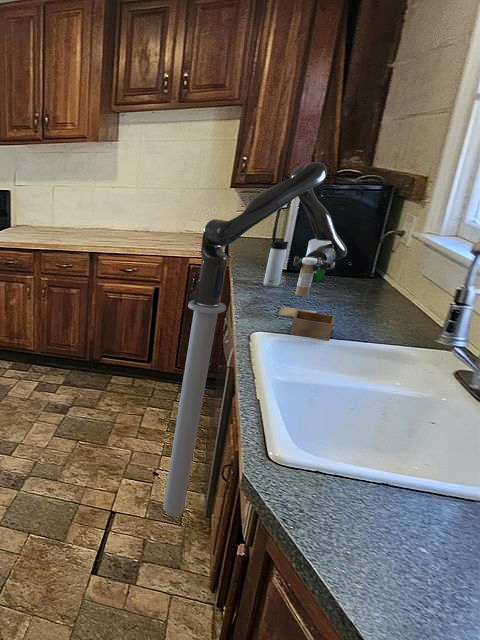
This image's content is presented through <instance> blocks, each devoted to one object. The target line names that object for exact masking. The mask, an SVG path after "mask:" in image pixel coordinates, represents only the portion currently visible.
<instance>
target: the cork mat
mask: <svg viewBox="0 0 480 640" xmlns="http://www.w3.org/2000/svg"><path fill="white" fill-rule="evenodd" d="M297 310H299V311H306V312H313V313H318V311H317V310H308V309H302V308H296V307H289V306H280V308H279V310H278V312H277V314H276V316H279V317H286V318H292V319H294V317H295V314H296V312H297Z"/></svg>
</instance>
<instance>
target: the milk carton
mask: <svg viewBox="0 0 480 640" xmlns="http://www.w3.org/2000/svg"><path fill="white" fill-rule="evenodd" d="M330 243H332V242H331V241H329V240H316V238H312V239H310V240H309V241H308V246H307V250H306V253H305V257H306V256H307V255H308V254H309V253H311V252H312V251H314V250H316V249H317V248H318V247H320V246H323V245H327V244H330ZM326 271H327V270H323V269H322V270H319V271H314V274H313V279H312V282H316V283H318V282H321V281H322V280H323V279H324V276H325V274H326Z"/></svg>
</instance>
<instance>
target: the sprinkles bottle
mask: <svg viewBox="0 0 480 640" xmlns="http://www.w3.org/2000/svg"><path fill="white" fill-rule="evenodd" d="M305 257H306V256H305ZM302 258H303V260H302V267H301V268H300V271H299V276H298V280H297V282H296V283H297V284H296V289H295V293H294V294H295V295H296V296H299V297H308V296H309V295H310V290H311V289H310V288H311V287H312V282H313V281H312V279H313V274H314V270H313V267H314V264H316V263H317V259H315V258H309V257H306V258H304V257H302Z"/></svg>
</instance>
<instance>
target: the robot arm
mask: <svg viewBox="0 0 480 640" xmlns="http://www.w3.org/2000/svg"><path fill="white" fill-rule="evenodd" d="M327 174H328V170H327V167H326V165H325V164H324V163H322V162H319V161H311V162H308V163H306V164H302V165H300V166H298V167H295V168H294V169H293V170H292V172H291V174H290V178H289V179H287V180H284V181H282V182H279V183H277V184H275V185H272V186H271V187H269V188H266V189H264V190H263V191H261V192H260V193H259V194H257V195H255V196H254V197H253V198H251V199H250V200H249V202H248V203H247V204H246V206H245V208H244V211H243V212H241V213H240V214H238V215H237V216H235V217H234V218H233V219H230V220H224V219H218V218H217V219H216V218H214V219H211V220H209V221H208V222H207V223H206V224H205V226H204V228H203V232H202V236H201V237H202V239H201V247H200V255H201V264H200V269H199V277H198V280H197V281H196V285H195V290H194V291H193V292H192V293H191V294H190V295H189V299H190V301H193V300H194V304H195V305H198V306H202V307H208V308H215V307H219V306H220V303H221V299H222V298H221V297H222V296H223V288H224V282H225V276H226V275H225V274H226V271H227V264H228V255H227V253H225V251H224V250H223V247H225V246H226V247H227V246H229V245H232V243H234V242H235V241H236V240H238V239H239V238H240V237H241V236H242V235H244V234H245V233H246V232H247V231H249V230H251V228H253V227H256V226H257V225H258V224H259V223H261V222H262V221H264V220H265V219H268V217H270V216H272V215H273V214H275V213H276V212H278V211H279V210H281V209H283V207H285V206H286V205H287V204H289V203H291V202H292V201H293V200H295V199H296V198H298V199H299V202H300V203H301V206H302V208H303V209H304V211H305V213H306V215H307V218H308V220H309V223H310V226H311V229H312V232H313V235H314V236H313V237H314V239H316V240H329V241H331V242H332V243H330V244H327V245H323V246H320V247H318V248H317V249H316V250H314V251H312V252H311V253H309V254H308V255H307V256H306V255H305V256H304V257H302V258H301V257H300V256H298V255H295V256H294V258H293V266H294V267H296V269H301V267H302V260H303V258H306V257H309V258H315V259H317V263H316V264H314V267H313V270H314V271H319V270H322V269H323V270H326V271H328V270H334V269H335V265H336V261H338V260H342V259H344V258H346V256H347V254H348V249H347V246H346V244H345V242H343V240H342V239H341V238H340V236H339V235H338V233H337V231H336V228H335V225H334V223H333V219H332V217H331V214H330V213H329V211H328V210H327V208H325V206H324V205H323V204H322V203H321V202H320V201H319V199H318V198H317V196H316V194H315V191H314V188H316V187H318V186H319V185H321V184H322V183H323V182H324V181H325V179H326V177H327Z"/></svg>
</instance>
